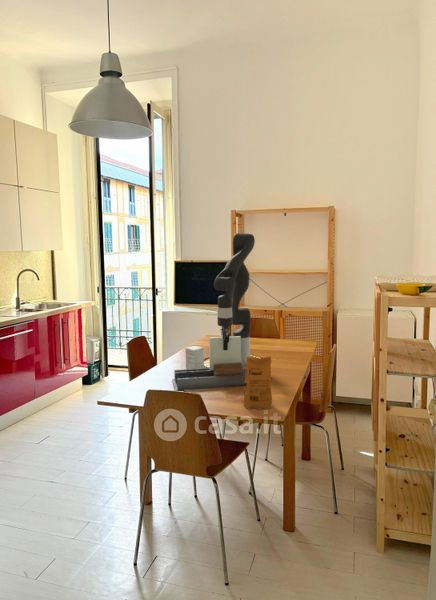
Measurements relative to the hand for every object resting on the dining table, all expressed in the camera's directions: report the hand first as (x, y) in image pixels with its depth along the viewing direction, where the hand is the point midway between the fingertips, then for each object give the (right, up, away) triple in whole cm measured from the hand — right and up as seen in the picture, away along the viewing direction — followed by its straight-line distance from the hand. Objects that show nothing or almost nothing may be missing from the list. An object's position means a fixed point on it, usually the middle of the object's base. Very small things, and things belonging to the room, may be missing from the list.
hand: (225, 349), depth 244 cm
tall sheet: (0, -11, +2) cm, 12 cm away
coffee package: (+14, -21, -34) cm, 42 cm away
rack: (-7, -17, -4) cm, 19 cm away
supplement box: (-16, -14, +22) cm, 31 cm away
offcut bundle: (+2, -16, -5) cm, 17 cm away
